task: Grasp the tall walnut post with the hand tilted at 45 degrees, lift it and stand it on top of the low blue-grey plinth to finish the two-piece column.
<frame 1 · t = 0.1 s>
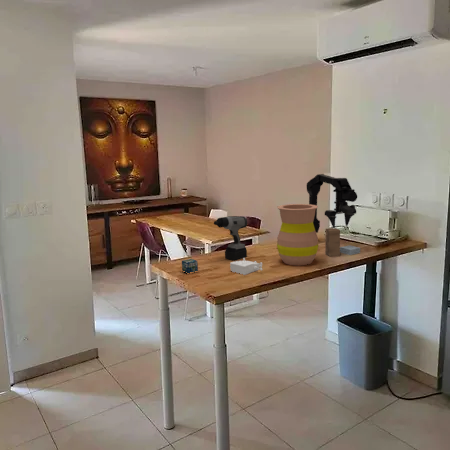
hand: (340, 226, 247), 15 cm above the table, tool pointing down, fingers open, 9 cm apart
plinth: (349, 252, 245), on the table
puzzle: (190, 272, 218), on the table
post: (332, 255, 241), on the table
white box with fittings: (248, 270, 218), on the table
cordless drill: (231, 259, 239), on the table
vase: (297, 261, 230), on the table
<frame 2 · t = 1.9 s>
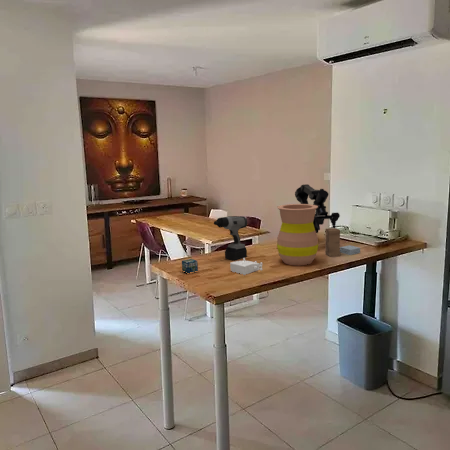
hand: (327, 229, 246), 13 cm above the table, tool tilted 45°, fingers open, 9 cm apart
nothing on the table moved.
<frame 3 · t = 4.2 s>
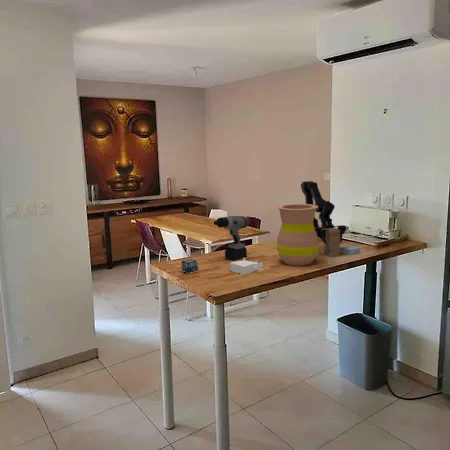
hand: (333, 243, 238), 7 cm above the table, tool tilted 45°, fingers open, 9 cm apart
nothing on the table moved.
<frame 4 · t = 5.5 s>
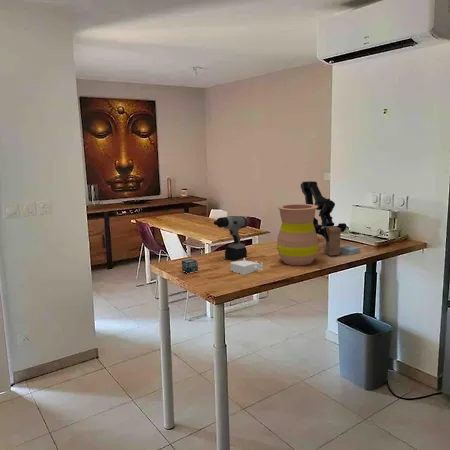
hand: (333, 241, 238), 9 cm above the table, tool tilted 45°, fingers closed on post, 6 cm apart
post: (332, 253, 240), point 1 cm above the table, touching gripper
everything else where it was.
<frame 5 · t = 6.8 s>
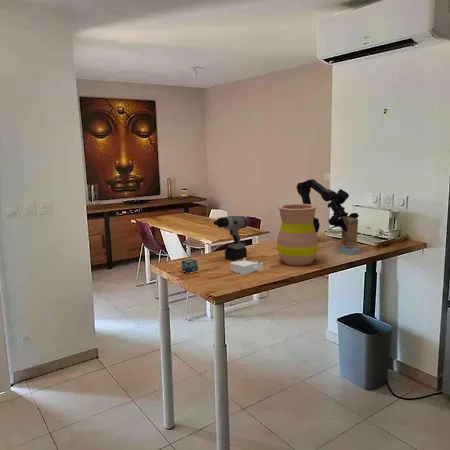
hand: (350, 230, 241), 13 cm above the table, tool tilted 45°, fingers closed on post, 6 cm apart
post: (348, 244, 243), point 5 cm above the table, touching gripper
everything else where it was.
when the fingers open (11 cm above the table, at t = 7.9 s): post stays where it is, resting on plinth.
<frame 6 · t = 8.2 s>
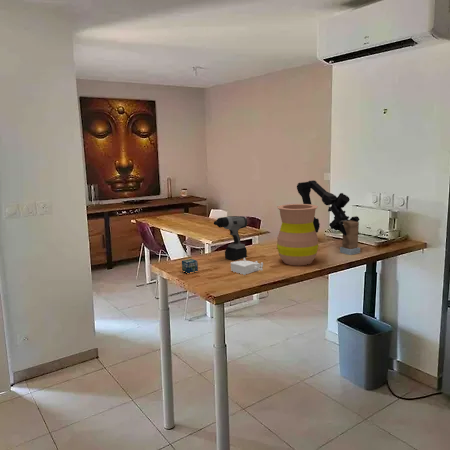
hand: (352, 234, 242), 11 cm above the table, tool tilted 45°, fingers open, 9 cm apart
post: (349, 247, 244), point 3 cm above the table, touching gripper, plinth
everything else where it was.
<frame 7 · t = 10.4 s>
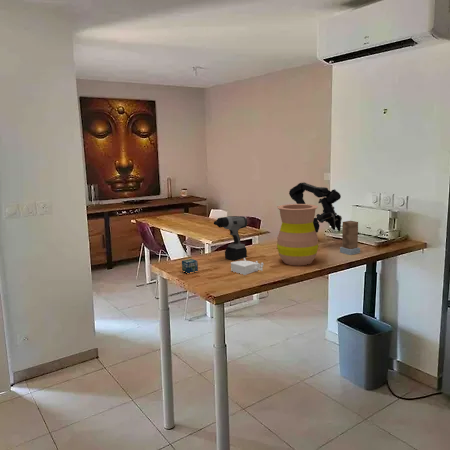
hand: (337, 230, 252), 11 cm above the table, tool tilted 30°, fingers open, 9 cm apart
post: (349, 247, 244), point 3 cm above the table, touching plinth
everything else where it was.
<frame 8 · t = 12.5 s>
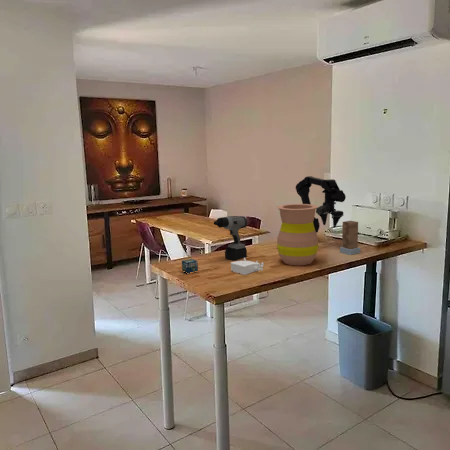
hand: (329, 226, 257), 13 cm above the table, tool pointing down, fingers open, 9 cm apart
nothing on the table moved.
at the end: post 0.1 cm off-centre on the plinth, point 3.0 cm above the plinth's base; post tilted 0°; the gripper is holding nothing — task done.
